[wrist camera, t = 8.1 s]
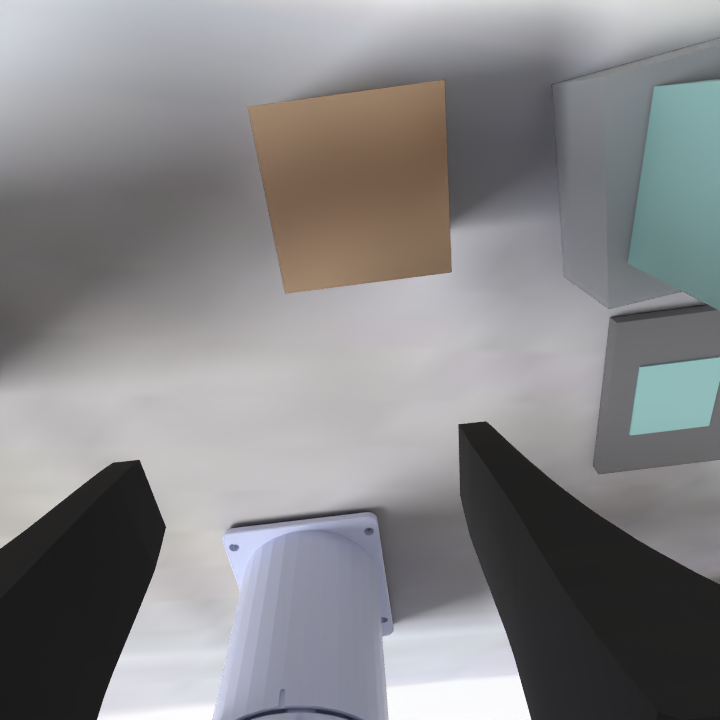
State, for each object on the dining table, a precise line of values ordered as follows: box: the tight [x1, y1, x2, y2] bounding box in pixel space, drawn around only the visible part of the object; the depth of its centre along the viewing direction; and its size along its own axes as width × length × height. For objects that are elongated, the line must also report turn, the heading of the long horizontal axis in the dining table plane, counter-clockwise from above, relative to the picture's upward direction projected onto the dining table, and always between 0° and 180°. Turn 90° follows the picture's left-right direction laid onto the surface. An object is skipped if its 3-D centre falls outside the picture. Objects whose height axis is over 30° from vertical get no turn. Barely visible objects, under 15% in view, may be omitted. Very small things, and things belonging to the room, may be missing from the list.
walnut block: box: [248, 80, 452, 293], centre depth 16 cm, size 5×5×5 cm
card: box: [593, 305, 720, 474], centre depth 22 cm, size 8×6×1 cm
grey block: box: [552, 38, 720, 309], centre depth 16 cm, size 7×7×4 cm
